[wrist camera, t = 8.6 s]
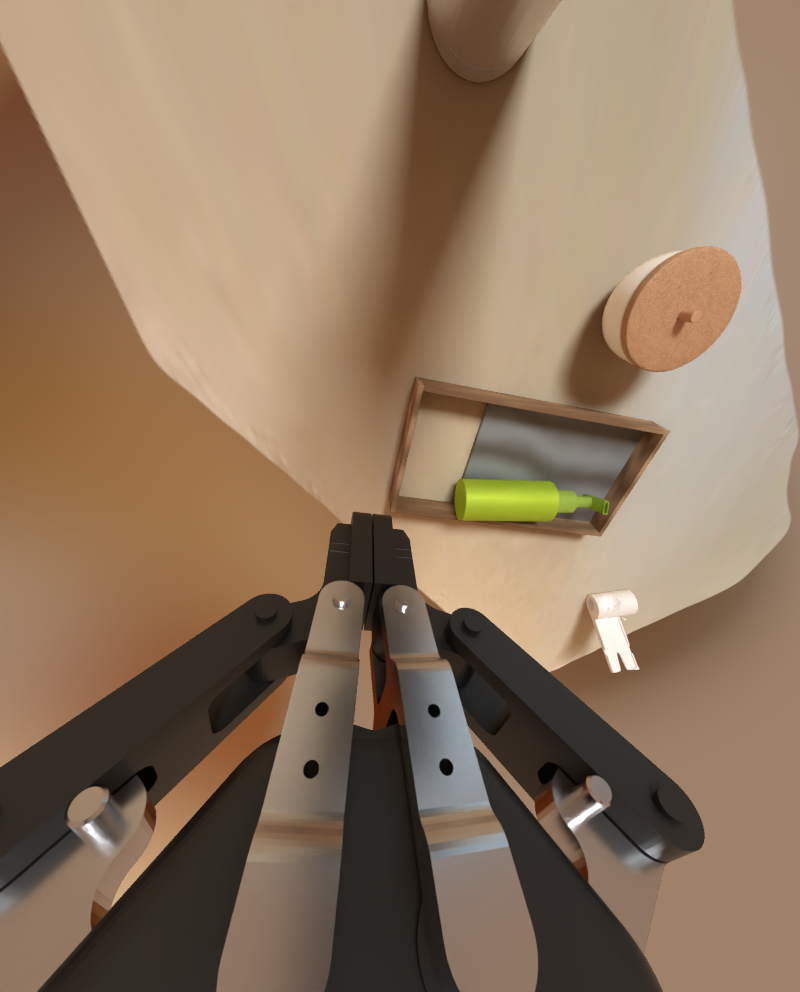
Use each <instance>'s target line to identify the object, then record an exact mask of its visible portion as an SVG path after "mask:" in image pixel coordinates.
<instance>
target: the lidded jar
mask: <svg viewBox="0 0 800 992" xmlns="http://www.w3.org/2000/svg"><path fill="white" fill-rule="evenodd" d="M740 292H741V273H740V269H739V267H738V264H737V262H736V260H735V259H734V257H733V256H732V255H731V254H729V253H728V252H727V251H725V250H723V249H721V248H717V247H696V248H691V249H687V250H680V251H675V252H670V253H666V254H663V255H660V256H657V257H655V258H652V259H650V260H648V261H646V262H644V263H642V264H641V265H639V266H638V267H636V268H635V269H634V270H632V271H631V272H630V273H628V274H627V275H626V276H625V277H624V278H623V279H622V280H621V281H620V283H619V284H618V285H617V286H616V287H615V289H614V290H613V292H612V293H611V295H610V297H609V299H608V301H607V303H606V306H605V309H604V313H603V318H602V331H603V336H604V338H605V341H606V343H607V345H608V346H609V348H610V349H611V350H612V351H613V352H614V353H615V354H616V355H617V356H618V357H620V358H622V359H623V360H625V361H627V362H629V363H631V364H634V365H635V366H637V367H639V368H641V369H644V370H647V371H652V372H664V371H669V370H673V369H676V368H679V367H681V366H683V365H685V364H687V363H689V362H691V361H692V360H694V359H695V358H697V357H698V356H700V355H701V354H702V353H703V352H705V351H706V350H707V349H708V348H709V347H710V346H711V345H712V344H713V343H714V342H715V341H716V340H717V339H718V337H719V336H720V335H721V334H722V332H723V331H724V329H725V328H726V327H727V325H728V323H729V321H730V320H731V318H732V316H733V314H734V312H735V309H736V307H737V304H738V301H739V297H740Z"/></svg>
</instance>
